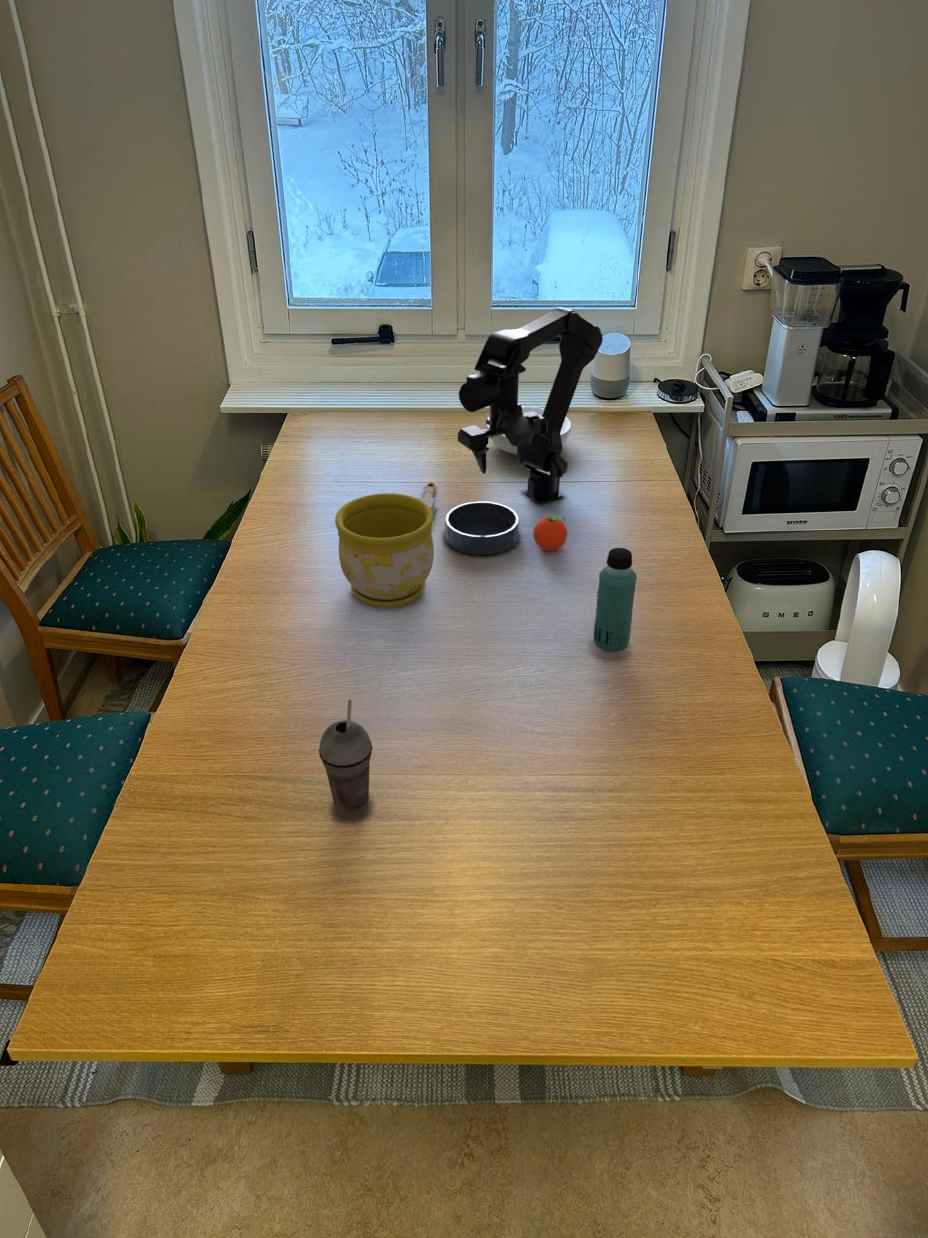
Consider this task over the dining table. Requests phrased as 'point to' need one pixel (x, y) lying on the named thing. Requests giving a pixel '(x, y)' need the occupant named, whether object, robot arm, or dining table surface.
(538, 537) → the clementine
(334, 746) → the beverage cup
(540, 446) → the robot arm
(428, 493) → the paintbrush
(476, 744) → the dining table surface
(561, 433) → the serving bowl
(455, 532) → the fruit bowl
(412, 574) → the flowerpot
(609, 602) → the beverage bottle
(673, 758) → the dining table surface
